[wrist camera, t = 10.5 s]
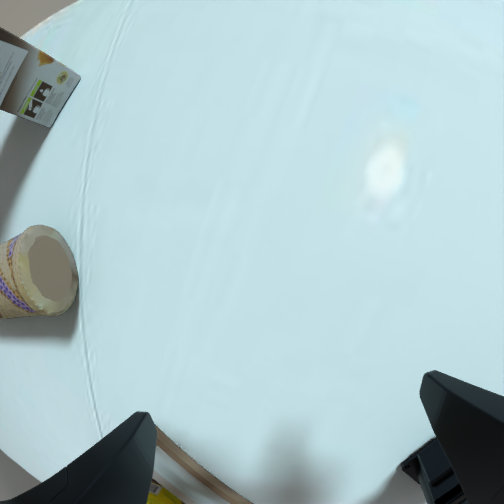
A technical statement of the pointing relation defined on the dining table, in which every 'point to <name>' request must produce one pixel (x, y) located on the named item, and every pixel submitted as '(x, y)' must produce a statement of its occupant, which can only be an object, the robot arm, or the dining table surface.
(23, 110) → the coffee box
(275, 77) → the dining table surface
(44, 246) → the decorative bottle
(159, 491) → the supplement bottle
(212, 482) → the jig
